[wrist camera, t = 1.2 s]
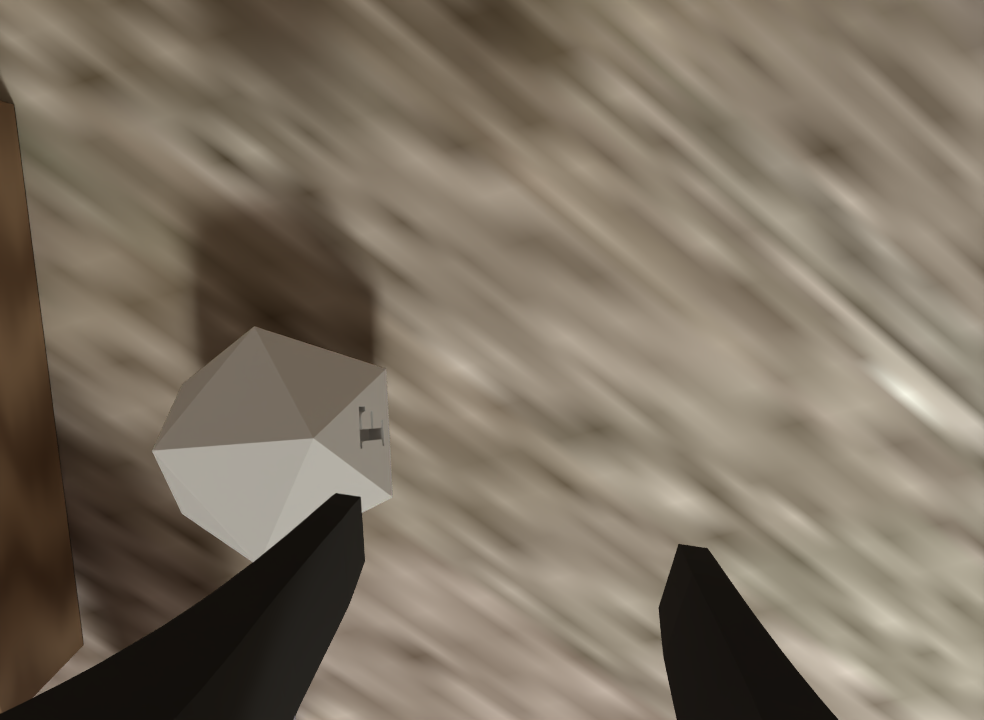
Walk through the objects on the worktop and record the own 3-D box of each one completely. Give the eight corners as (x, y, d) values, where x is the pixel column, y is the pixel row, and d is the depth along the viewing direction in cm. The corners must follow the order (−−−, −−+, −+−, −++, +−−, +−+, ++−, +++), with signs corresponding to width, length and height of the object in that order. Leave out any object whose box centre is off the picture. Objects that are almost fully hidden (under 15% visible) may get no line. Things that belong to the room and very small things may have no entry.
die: (360, 514, 26) (444, 546, 17) (158, 547, 21) (145, 611, 13) (354, 356, 27) (430, 317, 18) (159, 355, 22) (149, 302, 14)
